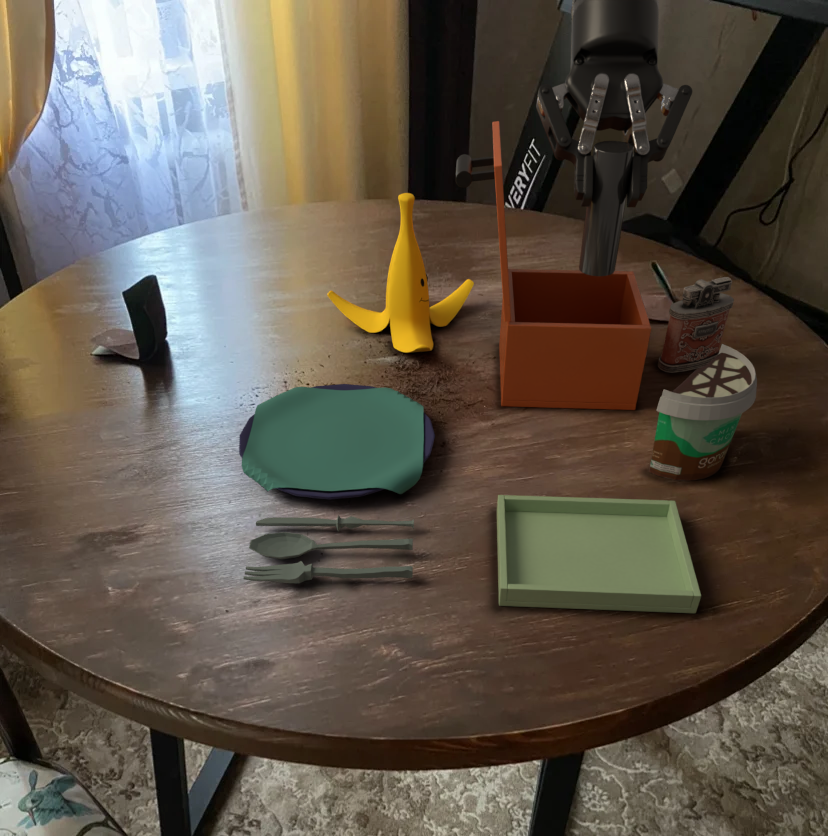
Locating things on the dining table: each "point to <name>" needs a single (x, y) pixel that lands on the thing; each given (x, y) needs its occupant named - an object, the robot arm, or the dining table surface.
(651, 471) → the food container
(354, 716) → the dining table surface
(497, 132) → the box lid
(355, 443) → the cutlery set
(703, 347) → the lighter
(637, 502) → the tray
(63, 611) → the dining table surface
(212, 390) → the dining table surface
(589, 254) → the black cylinder
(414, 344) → the banana peel
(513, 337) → the orange open box
